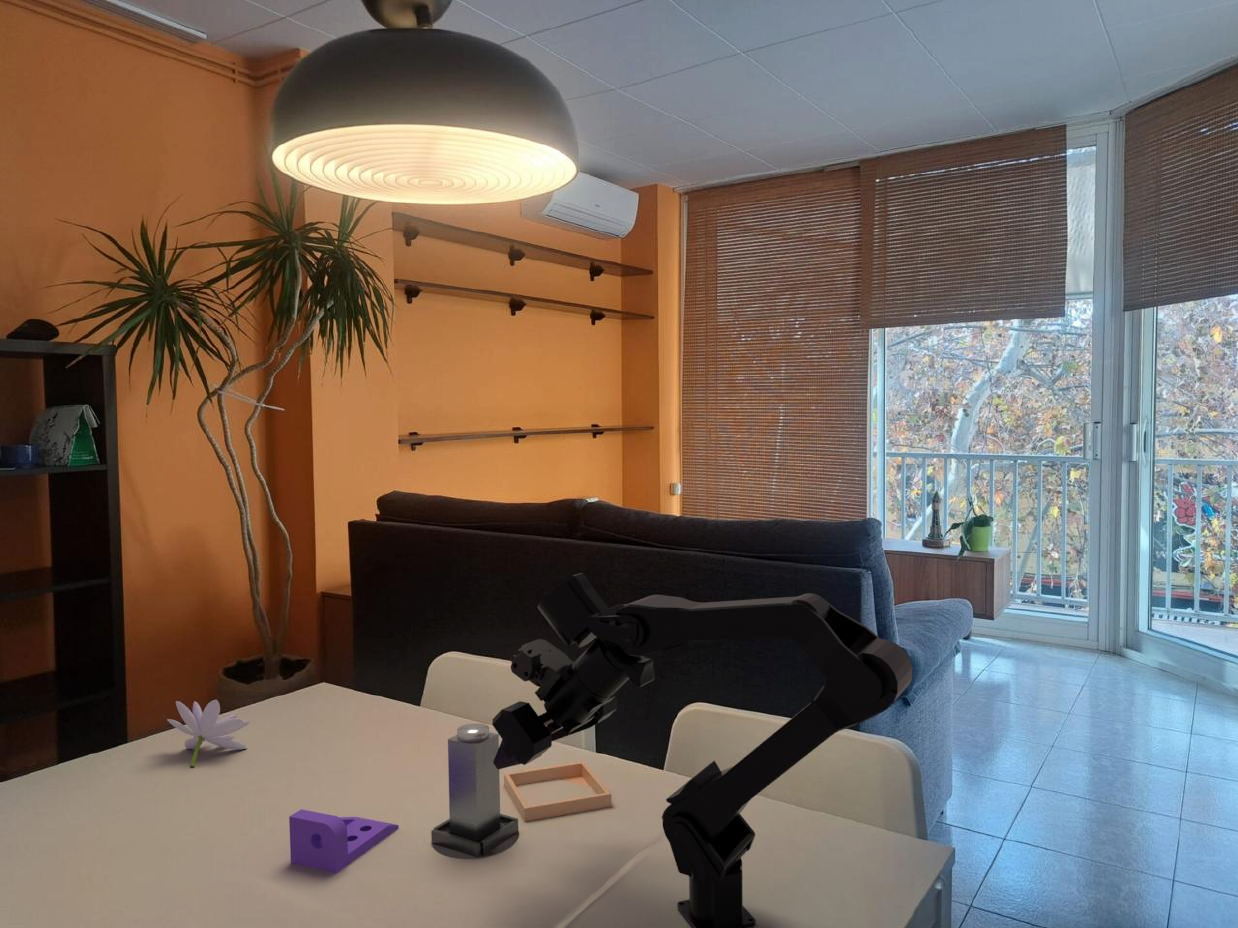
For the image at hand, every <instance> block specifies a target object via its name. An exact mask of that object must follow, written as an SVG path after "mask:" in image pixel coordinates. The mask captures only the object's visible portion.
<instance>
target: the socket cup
mask: <svg viewBox="0 0 1238 928" xmlns="http://www.w3.org/2000/svg"><path fill="white" fill-rule="evenodd" d="M519 831H520V830H519V818H516V817H514V816H511V815H508V814H507V815H506V814H503V813H500V829H499V830H498V831H496V832H495V833H493V834H492V835H490V836H489V837H487V838H485V839H484V840H482V841H481V842H480V843H478V842H474V841H471V840H468V839H465V838H461V837H458V836H455V835H452V834H450V818H448V819H446V820H445V821H443V822H441V823H439V824H438V825H437V826H435V827H433V829H431V834H430V835H431V837H430V838H431V842H430V843H431V846H432V848H433V849H434V851H436V852H437V853H438V854H440V855H442V856H445V857H448V858H454V859H458V860H474V859H475V860H476V859H483V858H487V857H493V856H496V855H499V854H501V853H503V852H505V851H507V850H508V849H510V848H512V847H513V846H514V845H515V844H516V843H517V841H518V839H519V837H520V832H519Z"/></svg>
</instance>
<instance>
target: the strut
mask: <svg viewBox="0 0 1238 928" xmlns="http://www.w3.org/2000/svg"><path fill="white" fill-rule="evenodd" d="M456 733H457V734H456V735H454V736H452V737H450V738H448V739H447V759H448V760H447V761H448V762H447V763H448V766H447V767H448V797H449V798H448V801H449V803H448V804H449V805H448V807H449V809H448V810H449V819H450V834H452V835H455V836H458V837H461V838H465V839H468V840H471V841H474V842H478V843H480V842H481V841H482V840H484V839H485V838H487V837H489V836H490V835H492V834H493V833H495V832H496V831H498V830H499V829H500V814H501V795H500V794H501V792H500V791H501V788H500V786H501V785H500V783H501V782H500V769H497V768H496V766H495V765H494V763H493V761H494V758H495V756H496V754H497V751H498V749H499V746H500V744H499V743H500V741H499V740H500V739H499V737H500V735H499V734H498V733H495V732H491V731H490V727H489V725H487V724H486V723H485V724H484V723H477V722H474V723H467V724H464V725H460V726H458V728H457V729H456Z"/></svg>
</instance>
